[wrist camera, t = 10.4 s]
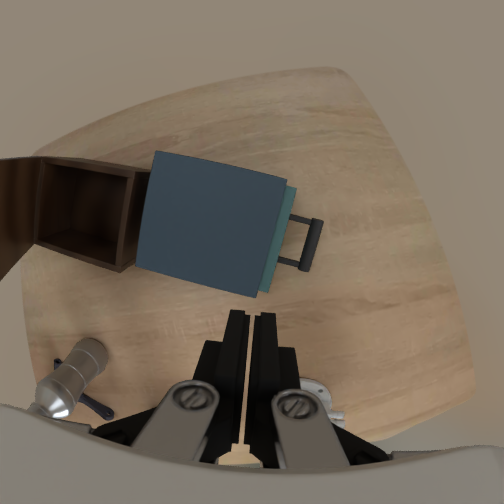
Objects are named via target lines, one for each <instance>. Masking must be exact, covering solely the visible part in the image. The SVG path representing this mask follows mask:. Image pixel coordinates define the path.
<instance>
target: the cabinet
mask: <svg viewBox="0 0 504 504" xmlns="http://www.w3.org/2000/svg"><path fill="white" fill-rule="evenodd" d="M286 183H287V179H284V178H280V177H277V176H273V175H269V174H265V173H261V172H257V171H253V170H249V169H244V168H240V167H236V166H231V165H227V164H222V163H218V162H213V161H208V160H204V159H199V158H194V157H189V156H183V155H178V154H173V153H167V152H162V151H155V155H154V160H153V164H152V169H151V173H150V178H149V183H148V188H147V193H146V198H145V204H144V210H143V215H142V221H141V228H140V234H139V241H138V248H137V256H136V264H135V266H137V267H140V268H143V269H147V270H150V271H154V272H157V273H161V274H164V275H168V276H172V277H175V278H179V279H182V280H186V281H190V282H194V283H197V284H201V285H205V286H209V287H212V288H216V289H220V290H224V291H228V292H232V293H236V294H240V295H244V296H248V297H252V298H256V295H257V291H258V288H259V284H260V281H261V277H262V273H263V270H264V266H265V262H266V259H267V255H268V251H269V247H270V244H271V240H272V236H273V233H274V229H275V225H276V221H277V217H278V214H279V210H280V206H281V202H282V198H283V195H284V191H285V187H286Z"/></svg>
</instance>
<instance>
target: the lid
mask: <svg viewBox="0 0 504 504" xmlns="http://www.w3.org/2000/svg"><path fill="white" fill-rule="evenodd" d="M41 160H42V156H30V157H17V158H5V159H0V281H1V280H2V279H3V277H4V276H5V275H6V274H7V273H8V272H9V270H10V269H11V268H12V267H13V266H14V265H15V264H16V263H17V262H18V261H19V259H20V258H21V257H22V256H23V255H24V254H25V253H26V252H27V251H28V250H29V249H30V248H31V247H32V246H33V245H34V223H35V208H36V197H37V188H38V180H39V173H40V167H41Z"/></svg>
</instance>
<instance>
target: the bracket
mask: <svg viewBox="0 0 504 504" xmlns="http://www.w3.org/2000/svg"><path fill="white" fill-rule="evenodd" d="M60 365H61V360H59V359H55V360H54V370H56V369H57V368H58V367H59V366H60ZM78 402H81V403H84V404H85V405H87V406H88V407H90V408H91V409H92V410H94V411H95V412H96V413H97V414H99V415H100V416H101V417H102V418H103V419H105V420H108V421H109V420H112V419H113V417H114V412H113V410H111V409H110V408H108V407H106V406H104V405H102V404H100V403H99V402H97V401H95V400H93V399H91V398H89V397H88V396H86V395H84V394H81V396H80V398H79V400H78ZM108 414H110V415H108Z"/></svg>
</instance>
